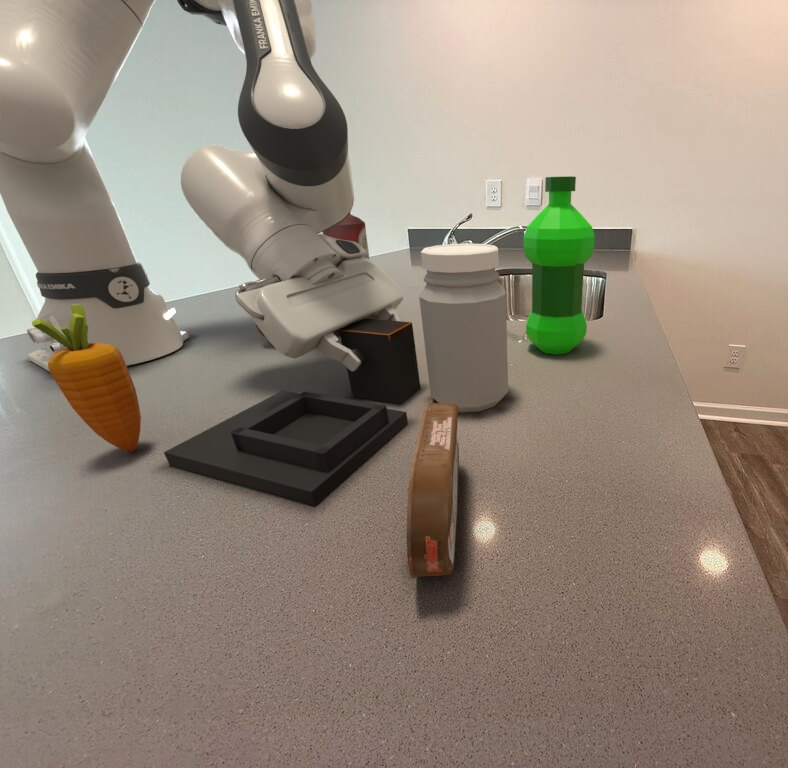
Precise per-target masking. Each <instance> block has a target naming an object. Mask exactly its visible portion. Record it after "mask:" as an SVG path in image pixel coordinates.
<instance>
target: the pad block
mask: <svg viewBox="0 0 788 768" xmlns="http://www.w3.org/2000/svg"><path fill="white" fill-rule="evenodd" d="M413 326H414V325H413V322H412V321H403V320H402V321H401V320H400V321H390V320H379V319H367V318H364V319H362V320H360V321H358V322H355V323H353V324H351V325H349V326H346V327H344V328H342V329H339V334H340V338H339V339H340V344H341V345H343V346H345V347H346V348H348V349H350V350H354V349H356V348H357V349H358V350H359V351H360V352H361V355H364V356H365V358H366V362H365V363H364V364H363V365H362V367H360V368H358V369H357V370H355V371H350V370H349V369H348V368H347V367H346V372H347V375H348V381H349V386H350V391H351V395H352V397H353V398H357V399H363V400H369V401H375V402H381V403H382V402H383V403H390V404H395V405H401V404H402V403H403V402H405V401H406V400H407V399H409V398H410V397H411V396H412V395H414V393H416V392H417V391H418V390H419V389H421V381H420V380H421V379H420V374H419V365H418V357H417V349H416V341H415V334H414V327H413Z"/></svg>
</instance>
